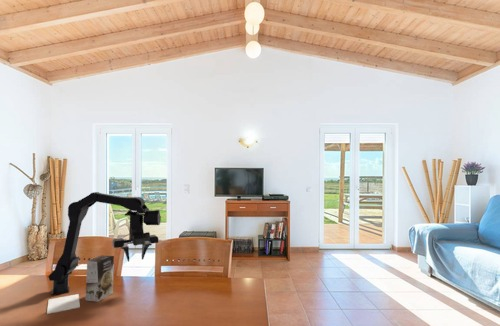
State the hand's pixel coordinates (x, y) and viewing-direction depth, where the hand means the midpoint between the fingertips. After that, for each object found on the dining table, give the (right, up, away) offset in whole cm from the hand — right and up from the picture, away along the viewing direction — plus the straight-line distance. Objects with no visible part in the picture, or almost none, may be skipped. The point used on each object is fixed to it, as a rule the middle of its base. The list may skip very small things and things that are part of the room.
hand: (135, 260), depth 130 cm
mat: (-23, -12, -15) cm, 30 cm away
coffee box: (-12, -13, -8) cm, 19 cm away
